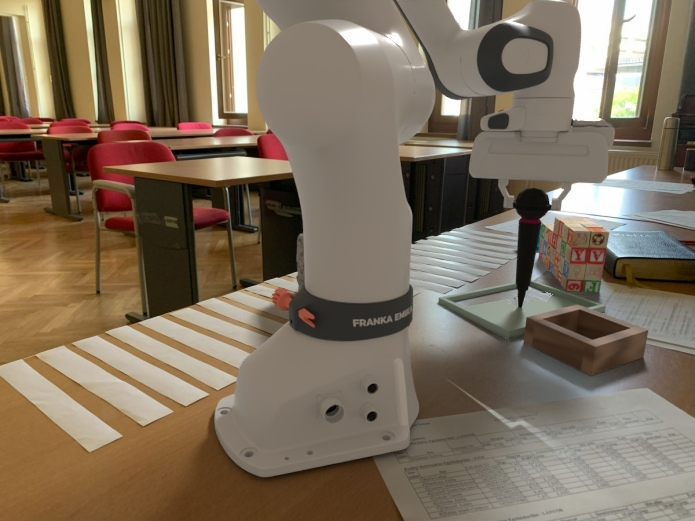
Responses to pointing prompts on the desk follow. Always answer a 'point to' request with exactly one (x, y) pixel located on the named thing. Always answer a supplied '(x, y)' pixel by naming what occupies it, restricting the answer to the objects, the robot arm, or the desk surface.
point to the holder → (585, 338)
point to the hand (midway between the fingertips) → (531, 208)
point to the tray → (513, 308)
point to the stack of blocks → (574, 252)
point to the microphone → (528, 234)
